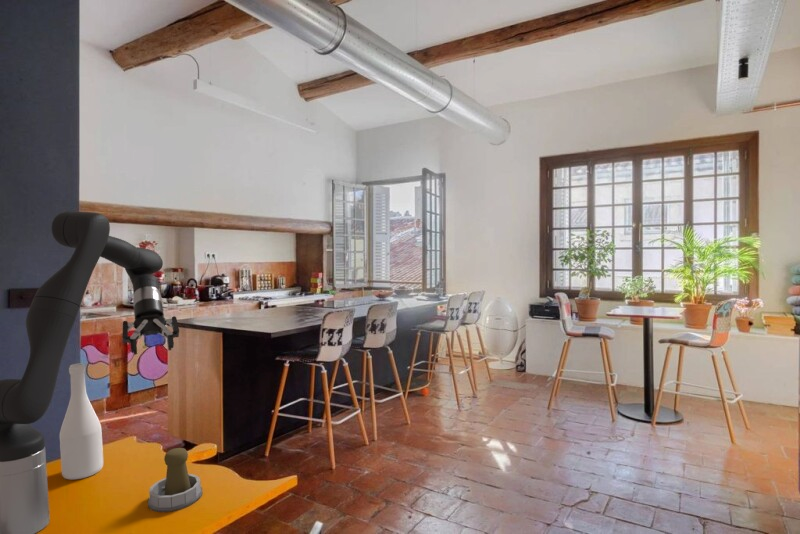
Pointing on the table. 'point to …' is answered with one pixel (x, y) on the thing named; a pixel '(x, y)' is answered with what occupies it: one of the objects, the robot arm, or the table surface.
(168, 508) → the small gray bowl
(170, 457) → the cork
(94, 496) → the table surface
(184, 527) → the table surface
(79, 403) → the wine bottle
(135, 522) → the table surface
